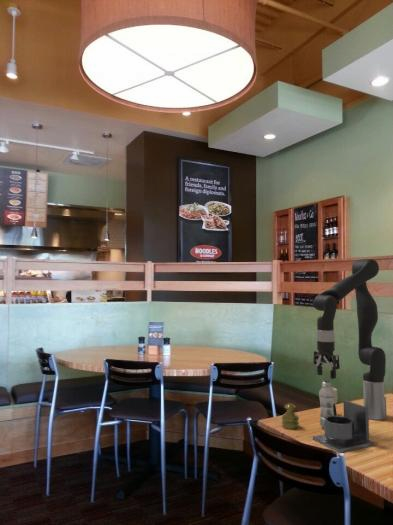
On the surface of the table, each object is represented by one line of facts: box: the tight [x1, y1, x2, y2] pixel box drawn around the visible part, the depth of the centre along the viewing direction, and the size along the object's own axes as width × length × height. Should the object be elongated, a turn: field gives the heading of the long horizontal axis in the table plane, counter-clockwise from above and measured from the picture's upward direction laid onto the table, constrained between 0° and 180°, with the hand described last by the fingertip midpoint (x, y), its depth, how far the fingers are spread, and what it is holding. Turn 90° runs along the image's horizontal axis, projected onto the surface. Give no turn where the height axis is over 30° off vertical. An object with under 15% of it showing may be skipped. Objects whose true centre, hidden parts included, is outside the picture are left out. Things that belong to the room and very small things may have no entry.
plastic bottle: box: [318, 380, 334, 428], centre depth 183 cm, size 6×7×20 cm
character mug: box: [330, 386, 338, 416], centre depth 199 cm, size 11×7×13 cm, turn 163°
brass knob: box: [281, 403, 300, 430], centre depth 185 cm, size 7×7×10 cm
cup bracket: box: [312, 400, 376, 453], centre depth 166 cm, size 18×15×14 cm
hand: (326, 376), depth 184 cm, fingers open, 8 cm apart
